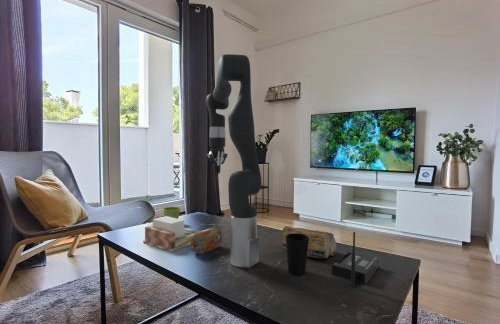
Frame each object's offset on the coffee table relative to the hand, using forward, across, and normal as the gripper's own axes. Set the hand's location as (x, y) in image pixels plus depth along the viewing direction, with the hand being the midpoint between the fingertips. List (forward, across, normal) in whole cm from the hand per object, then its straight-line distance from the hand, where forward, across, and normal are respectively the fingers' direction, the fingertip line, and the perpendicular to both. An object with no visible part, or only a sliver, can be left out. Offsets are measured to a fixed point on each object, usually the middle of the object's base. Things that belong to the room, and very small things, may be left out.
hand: (217, 173), depth 133 cm
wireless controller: (+30, +6, +65) cm, 72 cm away
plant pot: (+29, +2, -30) cm, 42 cm away
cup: (+29, +16, +49) cm, 59 cm away
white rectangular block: (+26, +22, -8) cm, 35 cm away
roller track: (+29, +18, -8) cm, 35 cm away
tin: (+29, +19, +11) cm, 37 cm away
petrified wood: (+29, -3, +45) cm, 54 cm away
